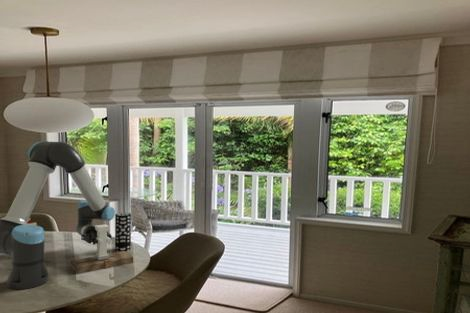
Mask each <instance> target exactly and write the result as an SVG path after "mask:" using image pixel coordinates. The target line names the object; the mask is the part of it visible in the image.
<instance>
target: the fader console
mask: <svg viewBox="0 0 470 313" xmlns="http://www.w3.org/2000/svg"><path fill="white" fill-rule="evenodd" d="M107 254H108V255H109V258H108V259H103V260H98V259H96V258H95V255H94V256H88V257H83V258H75V259H72V260H70V267H71V269H72V270H73V271H74V272H75V273H76V274H77V275H79V274H83V273H90V272H94V271H99V270H103V269H109V268H113V267H119V266H123V265H128V264H134V256H133V255H131V254H129V252H127V251H126V252H125V251H121V252H117V251H115V252H111V253H107Z"/></svg>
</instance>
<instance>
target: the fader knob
mask: <svg viewBox="0 0 470 313" xmlns="http://www.w3.org/2000/svg"><path fill="white" fill-rule="evenodd" d="M94 226H95V230H96V231H97V238H99V239H100V240H102V246H99V245H98V244H96V253H94V256H95V258H96V259H98V260H103V259H108V258H109V255H108V254H109V253H107V252H108V244H107V231H108V232H109V231H110V226H109V225H107V224H106V223H105V224H98V225H97V224H95V225H94Z"/></svg>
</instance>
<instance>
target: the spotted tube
mask: <svg viewBox="0 0 470 313" xmlns="http://www.w3.org/2000/svg"><path fill="white" fill-rule="evenodd" d="M114 220H115V221H114V223H115V224H114V228H115V229H114V231H115V232H114V234H115V235H114V251H115V252H121V251H125V252H126V253H127V252H129V251H131V250H130V249H132V246H131V245H132V244H131V243H132V242H131V241H132V236H131V235H132V213H129V212H120V213H115V216H114Z"/></svg>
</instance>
